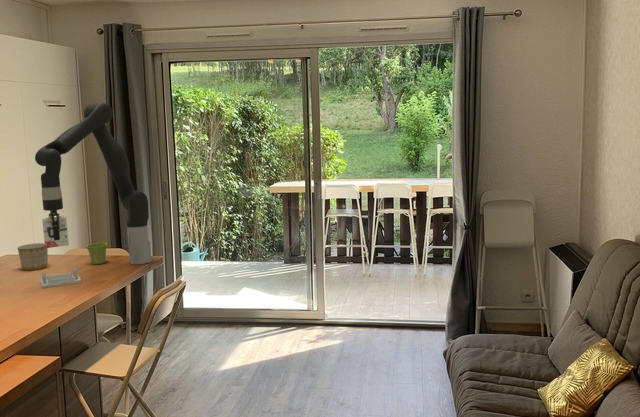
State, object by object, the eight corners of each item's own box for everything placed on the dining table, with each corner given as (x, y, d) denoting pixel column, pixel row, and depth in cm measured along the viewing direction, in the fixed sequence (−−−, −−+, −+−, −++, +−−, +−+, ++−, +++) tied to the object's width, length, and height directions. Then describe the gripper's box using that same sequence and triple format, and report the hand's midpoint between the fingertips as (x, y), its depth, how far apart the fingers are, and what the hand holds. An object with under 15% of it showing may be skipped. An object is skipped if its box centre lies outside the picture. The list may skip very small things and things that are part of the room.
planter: (55, 265, 305) (53, 243, 303) (35, 271, 293) (33, 249, 291) (34, 264, 309) (31, 242, 307) (13, 270, 297) (11, 248, 296)
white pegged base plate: (78, 277, 278) (77, 265, 278) (81, 282, 269) (80, 270, 268) (40, 282, 272) (39, 270, 271) (41, 288, 262) (40, 275, 262)
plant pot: (97, 266, 299) (95, 247, 298) (83, 264, 304) (81, 246, 303) (113, 261, 307) (111, 243, 306) (99, 260, 312) (98, 242, 310)
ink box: (47, 248, 264) (44, 219, 262) (44, 246, 268) (41, 218, 266) (69, 245, 268) (66, 217, 267) (66, 243, 273) (63, 215, 271)
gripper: (63, 198, 261) (67, 240, 263) (60, 195, 274) (64, 235, 276) (43, 200, 257) (47, 242, 260) (41, 197, 270) (45, 237, 273)
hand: (56, 238), depth 268 cm, fingers closed on ink box, 5 cm apart
